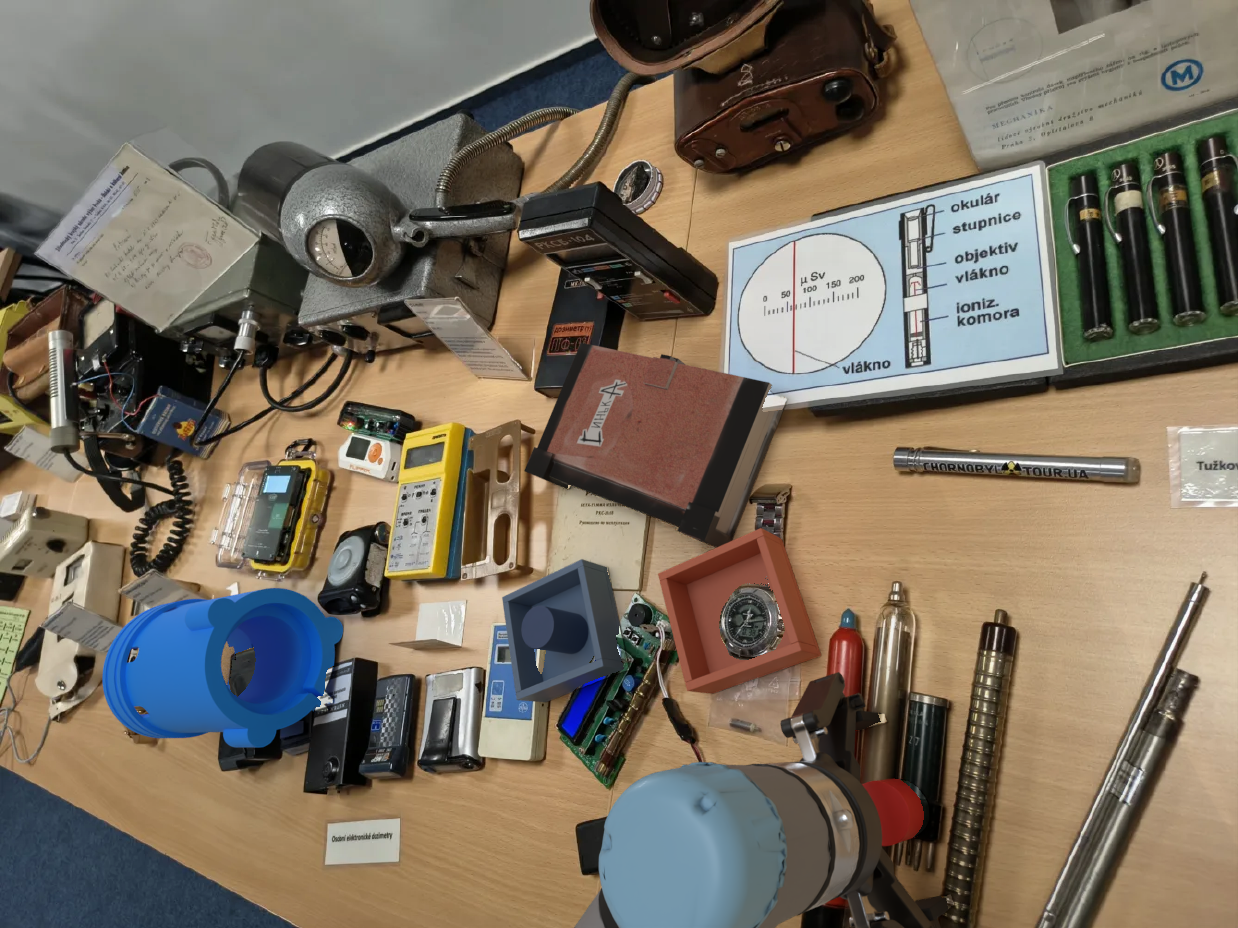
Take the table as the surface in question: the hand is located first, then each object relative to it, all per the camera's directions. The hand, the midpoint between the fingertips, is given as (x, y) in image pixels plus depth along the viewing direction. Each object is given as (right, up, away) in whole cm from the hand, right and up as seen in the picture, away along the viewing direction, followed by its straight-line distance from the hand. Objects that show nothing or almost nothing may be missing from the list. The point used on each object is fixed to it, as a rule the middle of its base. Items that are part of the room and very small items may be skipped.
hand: (901, 807), depth 60 cm
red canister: (0, 0, 0) cm, 0 cm away
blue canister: (-28, +9, +23) cm, 37 cm away
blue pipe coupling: (-72, -4, +52) cm, 89 cm away
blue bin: (-27, +9, +23) cm, 37 cm away
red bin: (-10, +13, +12) cm, 21 cm away
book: (-18, +30, +25) cm, 43 cm away
